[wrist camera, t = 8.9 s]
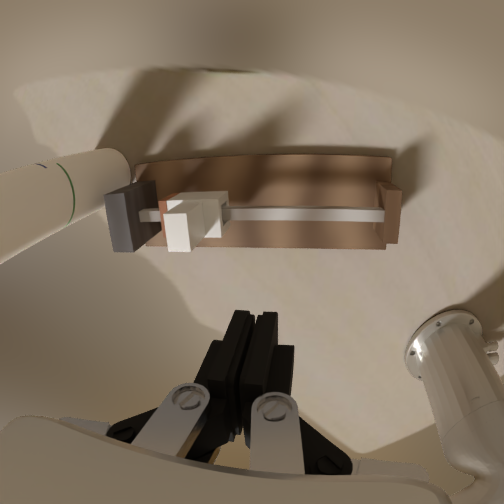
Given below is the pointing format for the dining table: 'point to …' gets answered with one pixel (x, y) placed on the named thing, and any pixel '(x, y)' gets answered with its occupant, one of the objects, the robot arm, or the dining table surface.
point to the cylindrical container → (55, 195)
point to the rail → (266, 201)
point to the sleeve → (194, 219)
